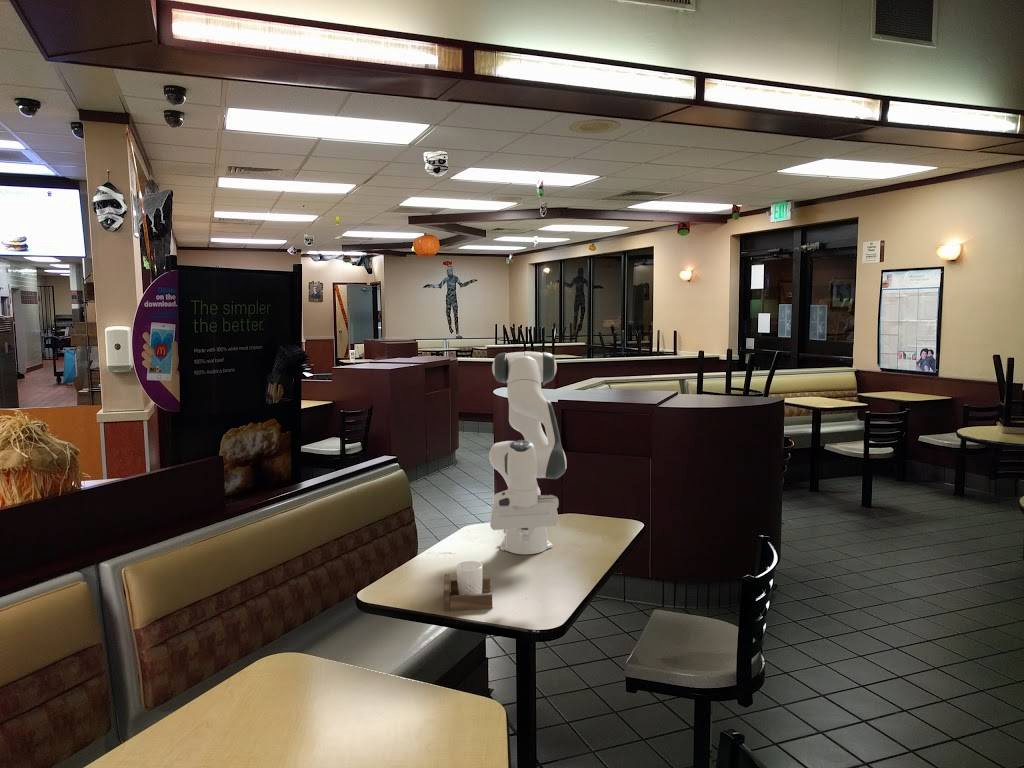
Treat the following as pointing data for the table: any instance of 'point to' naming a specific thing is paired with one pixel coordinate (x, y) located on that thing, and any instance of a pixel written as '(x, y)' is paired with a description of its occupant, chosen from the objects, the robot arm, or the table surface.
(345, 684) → the table surface
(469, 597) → the open brown box
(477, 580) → the white cup
